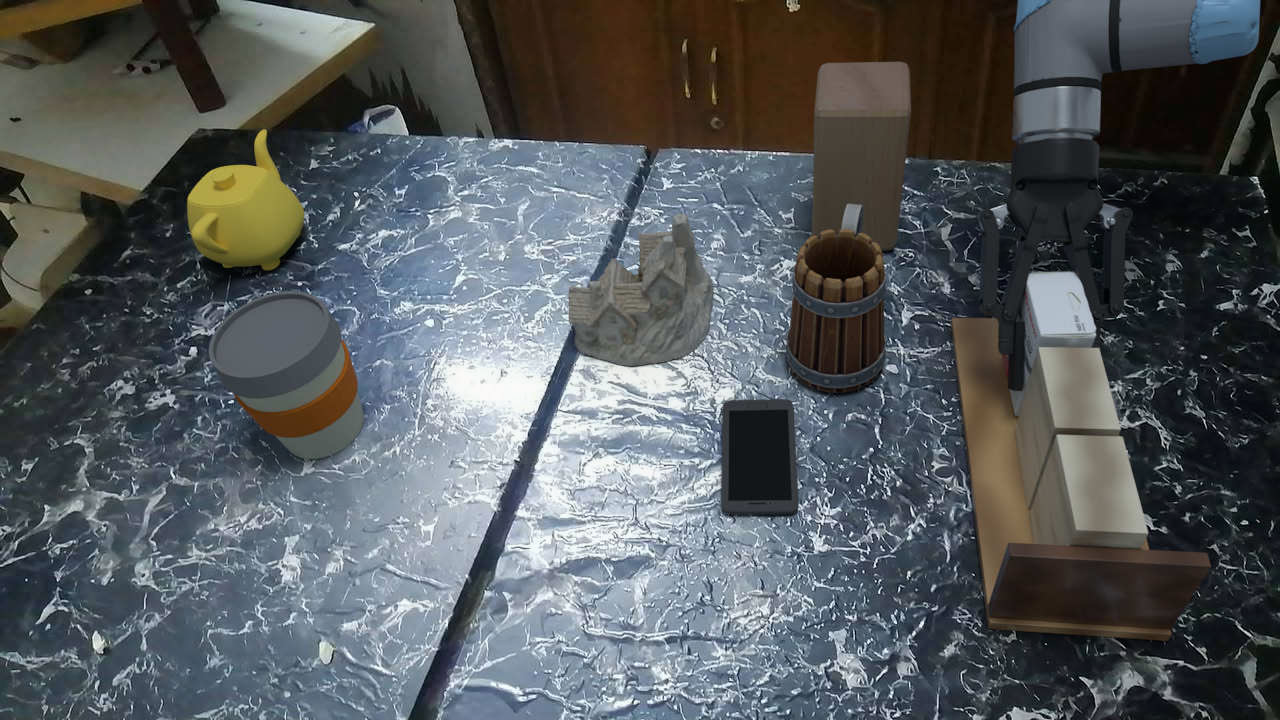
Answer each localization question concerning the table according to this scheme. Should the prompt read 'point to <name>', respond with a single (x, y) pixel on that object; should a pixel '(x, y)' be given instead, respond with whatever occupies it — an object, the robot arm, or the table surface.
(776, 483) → the cell phone
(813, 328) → the mug
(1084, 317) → the ink box
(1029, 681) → the table surface
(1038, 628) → the shelf
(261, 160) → the teapot
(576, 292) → the ceramic cottage
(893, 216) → the wooden block
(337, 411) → the reusable coffee cup
